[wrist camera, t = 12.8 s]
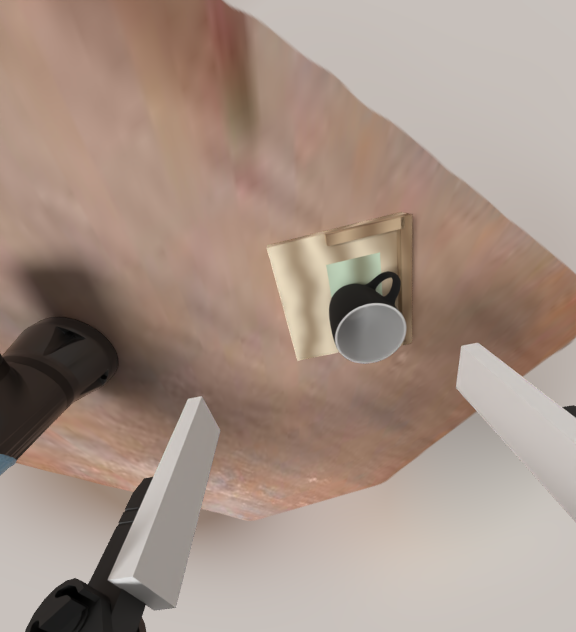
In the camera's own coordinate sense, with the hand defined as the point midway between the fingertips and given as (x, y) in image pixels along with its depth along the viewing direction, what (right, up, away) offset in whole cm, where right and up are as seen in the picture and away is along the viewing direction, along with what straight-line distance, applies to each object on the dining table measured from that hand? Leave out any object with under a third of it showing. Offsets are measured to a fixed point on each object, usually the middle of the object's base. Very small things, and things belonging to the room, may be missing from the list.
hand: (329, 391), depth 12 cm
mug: (+9, +7, +26) cm, 29 cm away
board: (+7, +8, +28) cm, 30 cm away
